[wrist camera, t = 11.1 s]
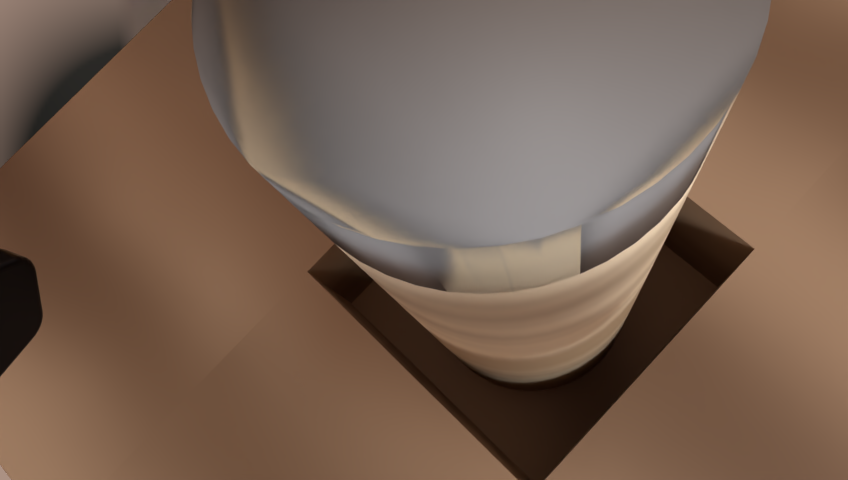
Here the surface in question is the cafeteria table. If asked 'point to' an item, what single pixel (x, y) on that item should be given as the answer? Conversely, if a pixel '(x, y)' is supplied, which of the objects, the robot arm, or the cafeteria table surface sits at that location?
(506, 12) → the beech pin
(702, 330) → the socket block
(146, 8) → the cafeteria table surface
